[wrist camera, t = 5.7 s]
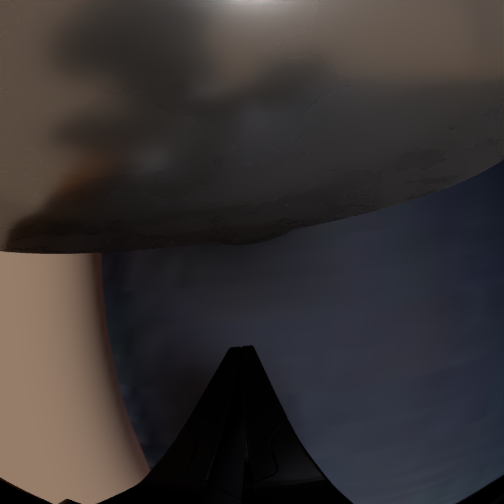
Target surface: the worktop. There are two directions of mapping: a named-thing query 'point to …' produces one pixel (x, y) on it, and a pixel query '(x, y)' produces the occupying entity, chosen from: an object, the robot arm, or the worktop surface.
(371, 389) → the worktop surface
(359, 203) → the lid
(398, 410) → the worktop surface
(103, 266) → the worktop surface
